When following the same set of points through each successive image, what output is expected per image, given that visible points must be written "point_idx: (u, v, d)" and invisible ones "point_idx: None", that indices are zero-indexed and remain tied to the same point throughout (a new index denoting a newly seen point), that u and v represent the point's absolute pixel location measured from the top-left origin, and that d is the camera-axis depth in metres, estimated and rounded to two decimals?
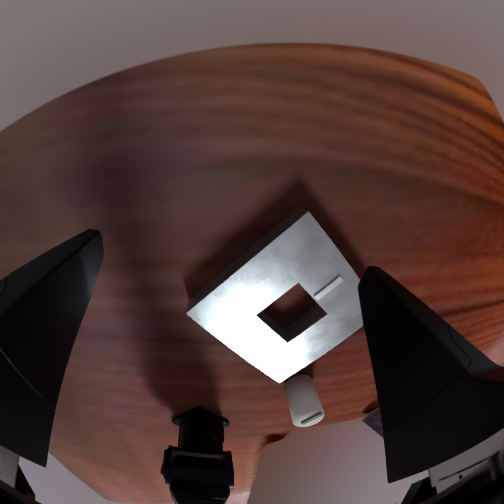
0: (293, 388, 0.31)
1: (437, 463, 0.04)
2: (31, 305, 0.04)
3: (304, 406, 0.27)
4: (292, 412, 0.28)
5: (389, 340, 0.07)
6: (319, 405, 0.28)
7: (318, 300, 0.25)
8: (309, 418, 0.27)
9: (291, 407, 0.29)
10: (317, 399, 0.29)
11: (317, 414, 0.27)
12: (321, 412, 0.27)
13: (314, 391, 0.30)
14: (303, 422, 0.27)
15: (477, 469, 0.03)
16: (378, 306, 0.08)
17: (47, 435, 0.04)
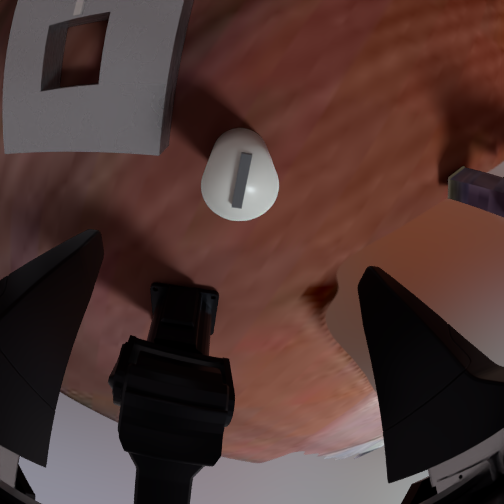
0: None
1: (437, 463, 0.04)
2: (31, 305, 0.04)
3: (208, 163, 0.13)
4: None
5: (389, 340, 0.07)
6: (245, 145, 0.13)
7: (82, 13, 0.09)
8: (235, 183, 0.13)
9: None
10: (241, 141, 0.13)
11: (239, 161, 0.12)
12: (245, 152, 0.12)
13: (241, 136, 0.15)
14: (233, 201, 0.13)
15: (477, 469, 0.03)
16: (378, 306, 0.08)
17: (47, 435, 0.04)
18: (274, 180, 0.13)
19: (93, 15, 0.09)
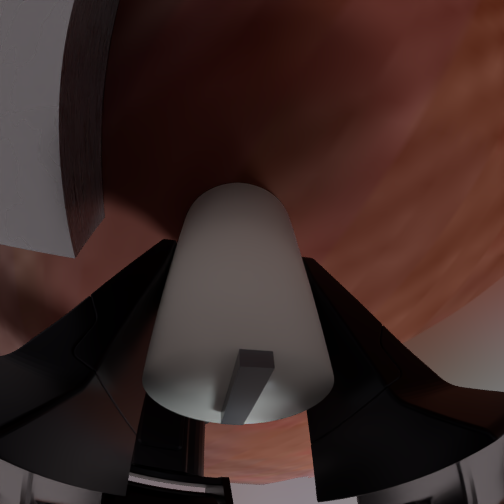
0: None
1: (359, 493, 0.04)
2: (132, 330, 0.05)
3: (153, 333, 0.05)
4: None
5: None
6: (250, 296, 0.05)
7: None
8: (227, 398, 0.05)
9: None
10: (240, 264, 0.05)
11: (235, 374, 0.04)
12: (253, 354, 0.04)
13: (239, 227, 0.06)
14: None
15: None
16: None
17: (127, 461, 0.05)
18: (324, 383, 0.05)
19: None
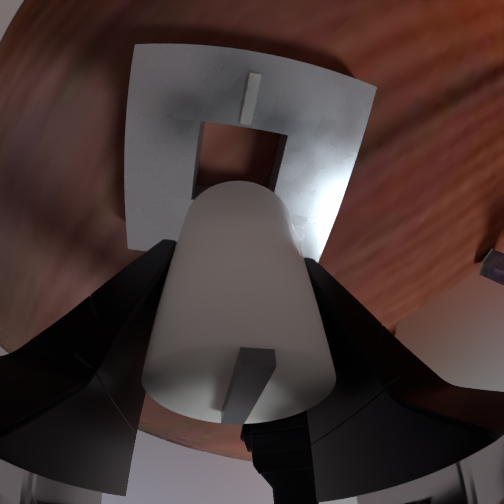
0: None
1: (359, 493, 0.04)
2: (132, 330, 0.05)
3: (153, 331, 0.05)
4: None
5: None
6: (252, 294, 0.04)
7: (253, 124, 0.14)
8: (227, 397, 0.05)
9: None
10: (240, 261, 0.05)
11: (236, 372, 0.04)
12: (254, 352, 0.04)
13: (240, 224, 0.06)
14: None
15: None
16: None
17: (126, 462, 0.05)
18: (326, 382, 0.05)
19: (263, 129, 0.14)
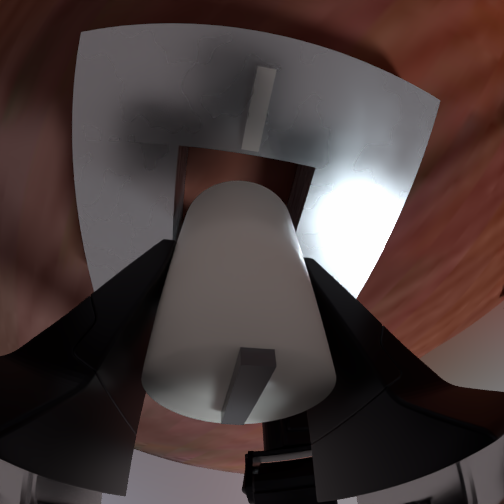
0: None
1: (359, 493, 0.04)
2: (132, 330, 0.05)
3: (153, 331, 0.05)
4: None
5: None
6: (252, 294, 0.04)
7: (261, 150, 0.09)
8: (227, 397, 0.04)
9: None
10: (240, 261, 0.05)
11: (236, 372, 0.04)
12: (255, 352, 0.04)
13: (240, 224, 0.06)
14: None
15: None
16: None
17: (126, 462, 0.05)
18: (326, 383, 0.05)
19: None
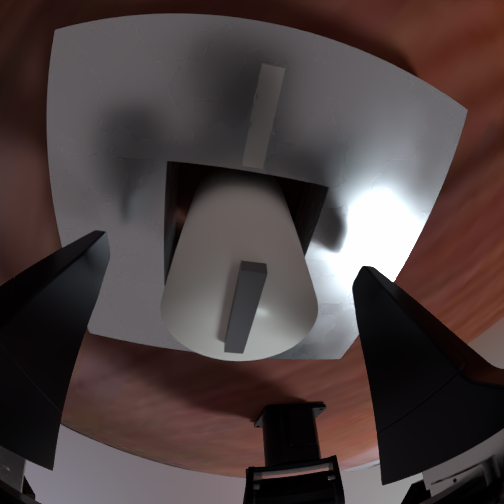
0: None
1: (431, 466, 0.04)
2: (39, 308, 0.04)
3: (172, 265, 0.06)
4: None
5: (383, 340, 0.07)
6: (250, 230, 0.06)
7: (266, 167, 0.08)
8: (230, 318, 0.06)
9: None
10: (241, 212, 0.07)
11: (237, 282, 0.05)
12: (251, 263, 0.05)
13: (241, 190, 0.08)
14: (227, 343, 0.07)
15: (477, 469, 0.03)
16: (372, 306, 0.08)
17: (54, 438, 0.05)
18: (310, 308, 0.06)
19: None
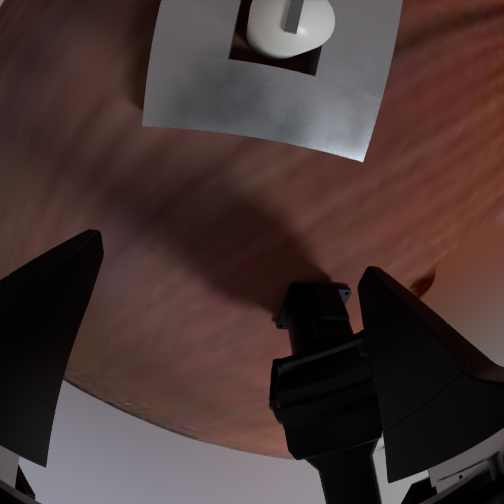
0: None
1: (437, 463, 0.04)
2: (31, 305, 0.04)
3: None
4: (252, 31, 0.09)
5: (389, 340, 0.07)
6: None
7: None
8: (289, 9, 0.08)
9: (251, 33, 0.10)
10: None
11: None
12: None
13: None
14: (287, 25, 0.08)
15: (477, 469, 0.03)
16: (378, 306, 0.08)
17: (47, 435, 0.04)
18: (330, 13, 0.08)
19: None
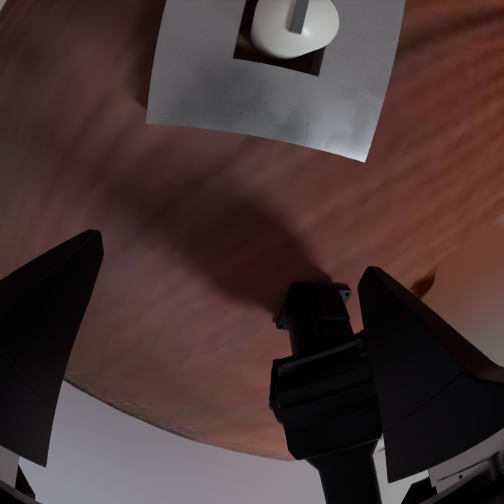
0: None
1: (437, 463, 0.04)
2: (31, 305, 0.04)
3: None
4: (258, 31, 0.10)
5: (389, 340, 0.07)
6: None
7: None
8: (294, 9, 0.08)
9: (256, 33, 0.10)
10: None
11: None
12: None
13: None
14: (292, 25, 0.09)
15: (477, 469, 0.03)
16: (378, 306, 0.08)
17: (47, 435, 0.04)
18: (334, 14, 0.08)
19: None
